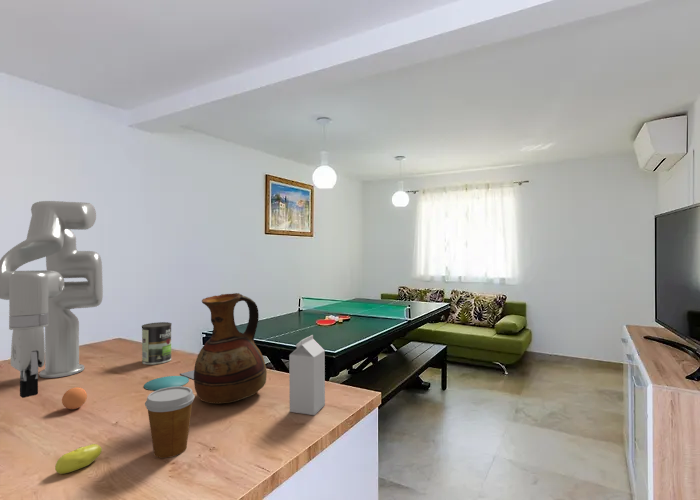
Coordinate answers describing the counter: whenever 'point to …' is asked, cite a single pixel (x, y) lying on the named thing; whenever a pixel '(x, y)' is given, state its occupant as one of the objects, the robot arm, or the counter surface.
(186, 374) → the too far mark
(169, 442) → the disposable coffee cup
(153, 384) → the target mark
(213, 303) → the ceramic pitcher
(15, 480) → the counter surface
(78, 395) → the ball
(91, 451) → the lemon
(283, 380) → the counter surface
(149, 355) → the coffee can
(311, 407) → the milk carton
